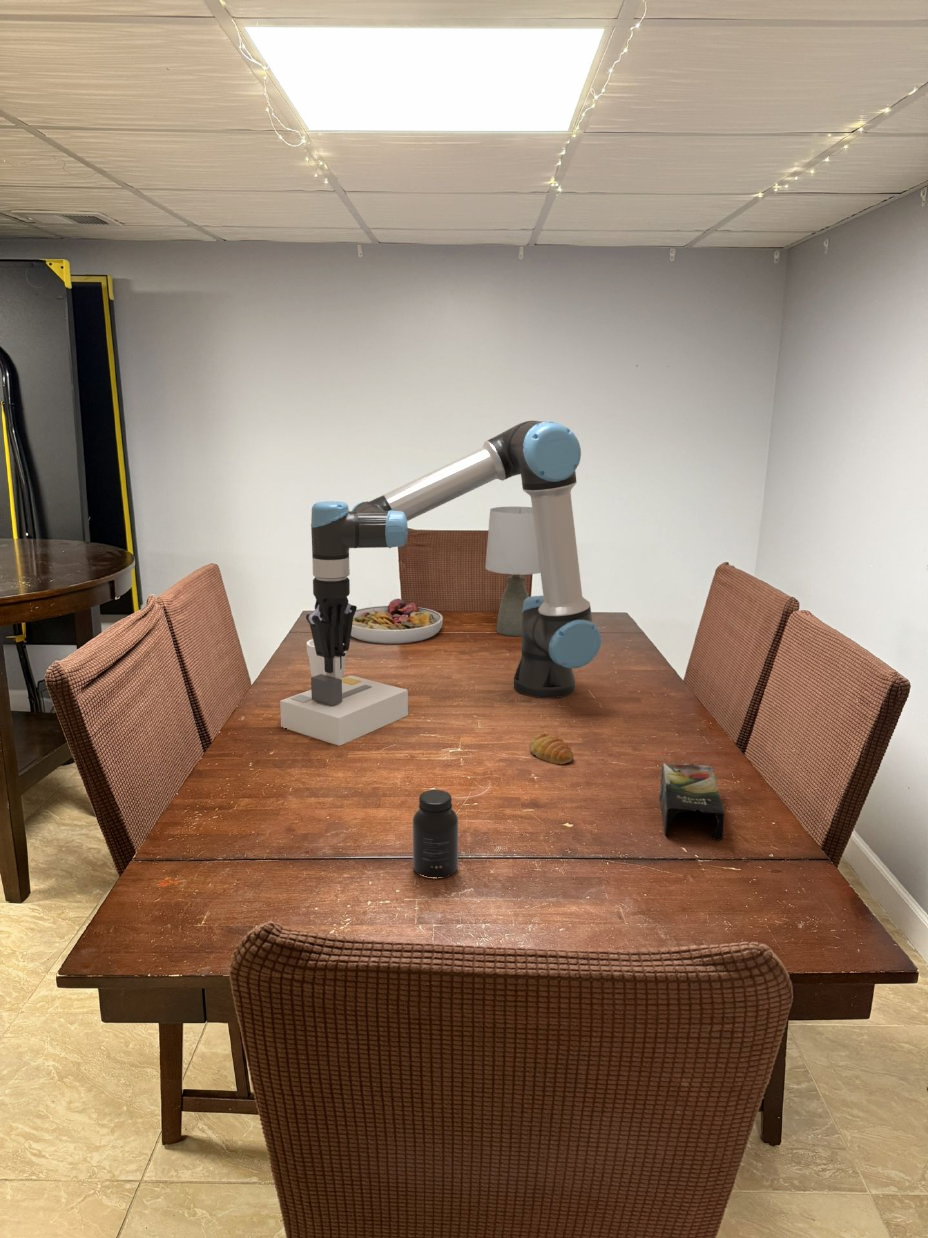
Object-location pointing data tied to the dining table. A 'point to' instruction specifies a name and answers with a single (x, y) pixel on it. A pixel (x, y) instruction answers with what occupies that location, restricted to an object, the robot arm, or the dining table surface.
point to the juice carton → (690, 793)
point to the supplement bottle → (435, 835)
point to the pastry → (551, 749)
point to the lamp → (512, 561)
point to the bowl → (395, 623)
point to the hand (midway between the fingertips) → (333, 685)
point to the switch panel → (345, 711)
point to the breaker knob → (326, 689)
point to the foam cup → (320, 661)
